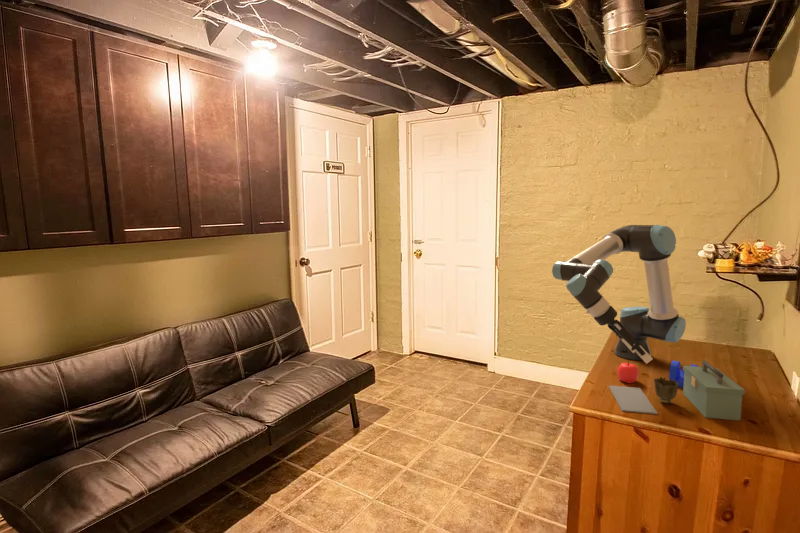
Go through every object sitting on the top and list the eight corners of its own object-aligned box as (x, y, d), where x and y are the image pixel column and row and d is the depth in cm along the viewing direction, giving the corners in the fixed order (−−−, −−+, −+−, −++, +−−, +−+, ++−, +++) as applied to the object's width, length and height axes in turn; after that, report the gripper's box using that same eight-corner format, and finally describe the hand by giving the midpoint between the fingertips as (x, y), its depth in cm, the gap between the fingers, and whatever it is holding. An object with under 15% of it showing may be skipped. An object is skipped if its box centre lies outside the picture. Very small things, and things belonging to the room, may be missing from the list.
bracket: (693, 390, 168) (695, 368, 167) (668, 384, 174) (670, 362, 173) (704, 377, 181) (705, 356, 179) (680, 372, 186) (682, 352, 185)
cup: (679, 401, 158) (680, 380, 157) (674, 408, 153) (676, 386, 152) (655, 396, 163) (656, 375, 162) (650, 402, 158) (652, 381, 157)
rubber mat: (608, 386, 173) (608, 385, 172) (639, 389, 170) (639, 387, 170) (621, 411, 151) (622, 409, 151) (657, 414, 149) (657, 413, 149)
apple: (629, 386, 173) (630, 366, 172) (612, 379, 180) (612, 360, 179) (643, 382, 176) (644, 363, 175) (625, 376, 183) (626, 357, 182)
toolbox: (680, 392, 166) (683, 356, 164) (714, 395, 163) (717, 358, 161) (703, 417, 146) (706, 376, 144) (742, 421, 143) (745, 378, 141)
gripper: (585, 311, 173) (623, 352, 171) (602, 324, 148) (646, 372, 147) (601, 299, 171) (639, 340, 170) (620, 310, 147) (665, 358, 145)
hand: (642, 355), depth 158 cm, fingers open, 13 cm apart
